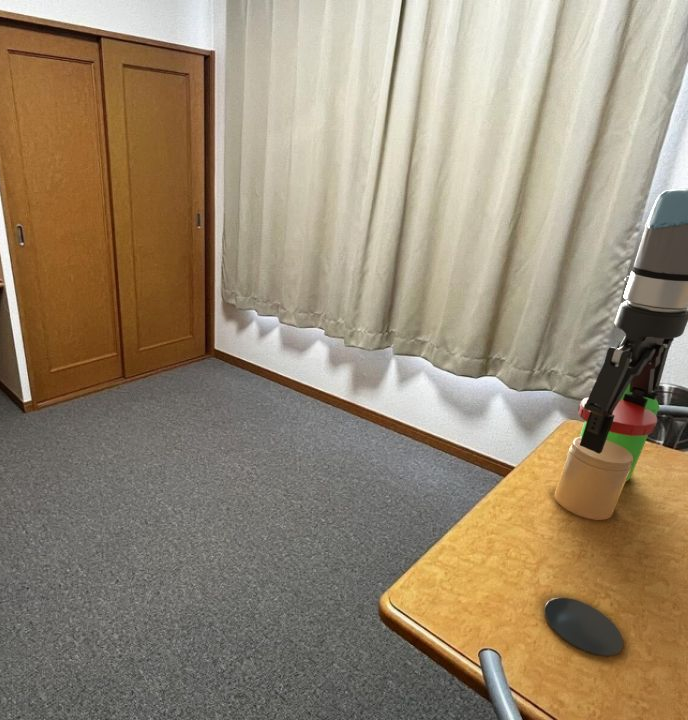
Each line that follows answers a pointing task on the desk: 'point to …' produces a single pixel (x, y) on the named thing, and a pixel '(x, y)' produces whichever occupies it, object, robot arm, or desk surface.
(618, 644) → the coaster
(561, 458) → the desk surface
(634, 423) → the lid
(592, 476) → the jam jar
